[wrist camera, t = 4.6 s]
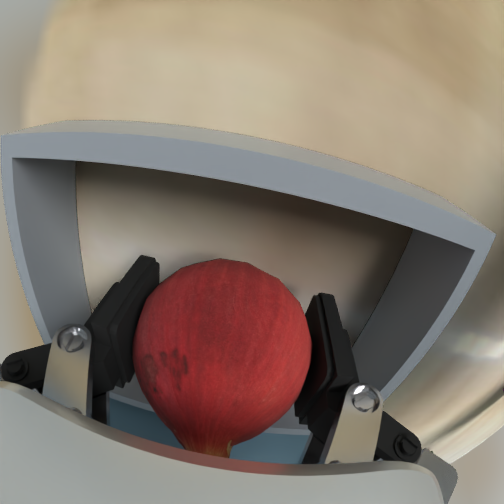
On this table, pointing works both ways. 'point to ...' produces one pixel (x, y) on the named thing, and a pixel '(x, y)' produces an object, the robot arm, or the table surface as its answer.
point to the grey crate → (249, 173)
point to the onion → (221, 353)
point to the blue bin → (154, 429)
